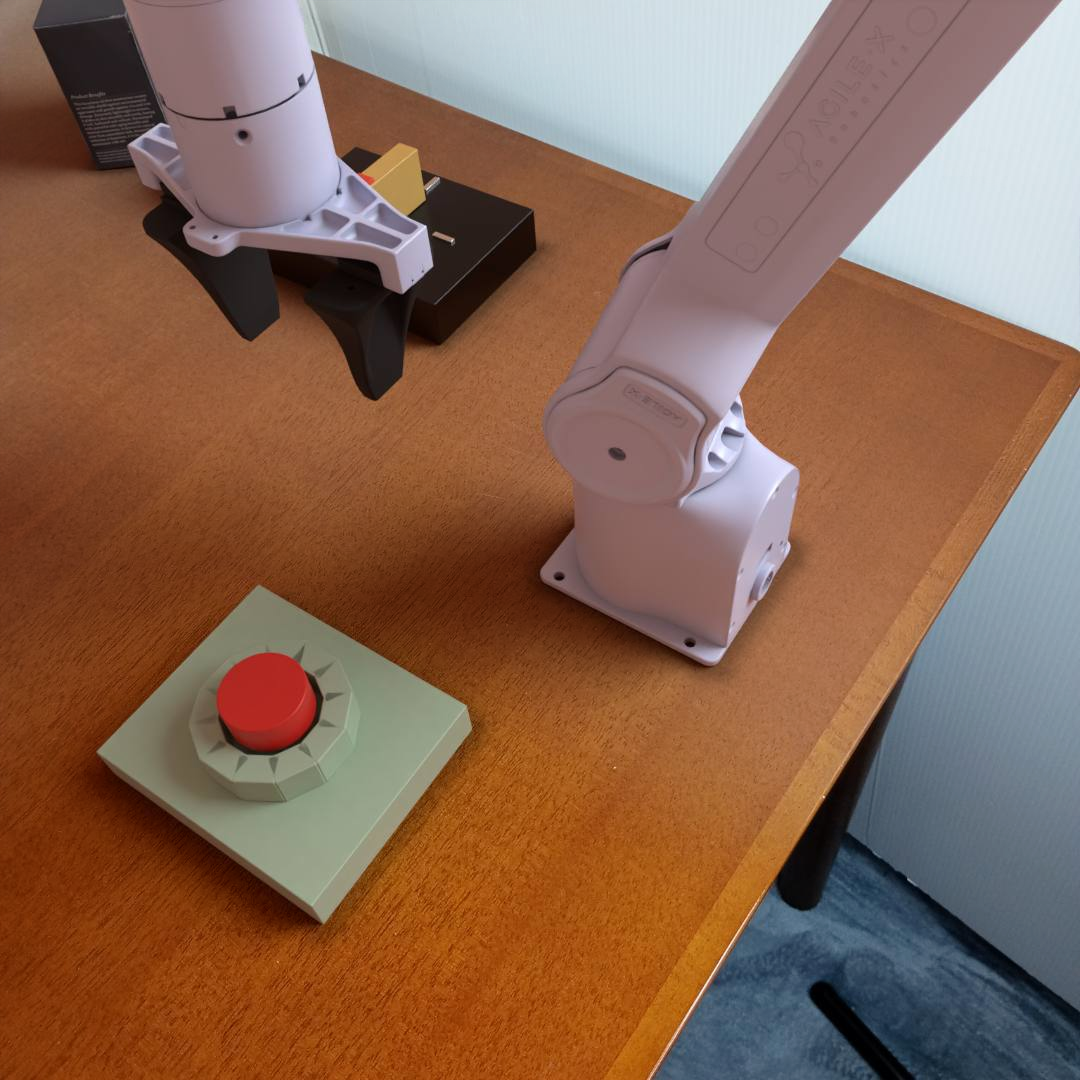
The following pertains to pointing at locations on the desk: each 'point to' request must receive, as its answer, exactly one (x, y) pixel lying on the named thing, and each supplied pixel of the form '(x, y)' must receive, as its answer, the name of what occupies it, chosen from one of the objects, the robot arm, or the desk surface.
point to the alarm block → (292, 754)
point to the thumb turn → (397, 178)
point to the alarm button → (266, 701)
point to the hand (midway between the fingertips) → (320, 355)
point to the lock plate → (443, 250)
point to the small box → (100, 74)
